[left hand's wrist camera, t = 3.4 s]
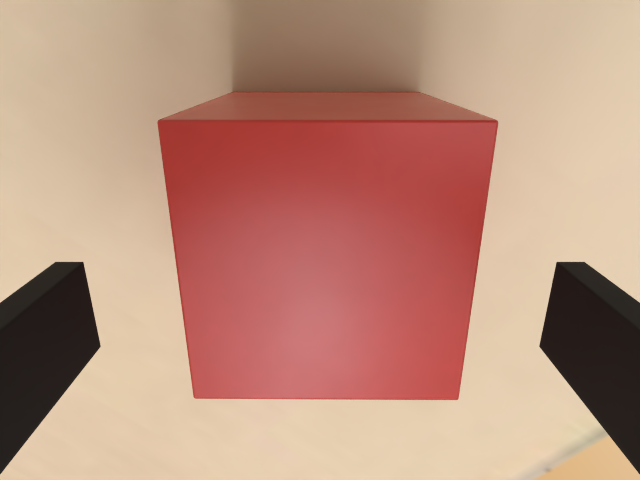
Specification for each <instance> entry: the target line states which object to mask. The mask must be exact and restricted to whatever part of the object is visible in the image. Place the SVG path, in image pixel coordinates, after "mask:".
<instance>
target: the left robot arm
mask: <svg viewBox="0 0 640 480" xmlns="http://www.w3.org/2000/svg"><path fill="white" fill-rule="evenodd" d="M100 347H101V346H100V341H99V336H98V332H97V327H96V322H95V317H94V312H93V307H92V302H91V297H90V293H89V288H88V283H87V278H86V273H85V268H84V263H83V262H55V263H54V264H52V265H51V266H50V267H48V268H47V269H46V270H44V271H43V272H41V273H40V274H39V275H37V276H36V277H35V278H33V279H32V280H31V281H29V282H28V283H27V284H25V285H24V286H22V287H21V288H20V289H18V290H17V291H16V292H14V293H13V294H12V295H10V296H9V297H8V298H6V299H5V300H3V301H2V302H1V303H0V474H1V473H2V471H3V470H4V469H5V468H6V466H7V465H8V464H9V462H10V461H11V460H12V459H13V457H14V456H15V455H16V454H17V452H18V451H19V450H20V448H21V447H22V446H23V445H24V443H25V442H26V441H27V440H28V438H29V437H30V436H31V434H32V433H33V432H34V431H35V429H36V428H37V427H38V426H39V424H40V423H41V422H42V420H43V419H44V418H45V417H46V415H47V414H48V413H49V412H50V410H51V409H52V408H53V406H54V405H55V404H56V403H57V401H58V400H59V399H60V398H61V396H62V395H63V394H64V392H65V391H66V390H67V389H68V387H69V386H70V385H71V384H72V382H73V381H74V380H75V378H76V377H77V376H78V375H79V373H80V372H81V371H82V370H83V368H84V367H85V366H86V364H87V363H88V362H89V361H90V359H91V358H92V357H93V356H94V354H95V353H96V352H97V350H98V349H99V348H100ZM539 347H540V348H541V349H542V350H543V352H544V353H545V354H546V356H547V357H548V358H549V359H550V361H551V362H552V363H553V364H554V366H555V367H556V368H557V370H558V371H559V372H560V373H561V375H562V376H563V377H564V378H565V380H566V381H567V382H568V384H569V385H570V386H571V387H572V389H573V390H574V391H575V392H576V394H577V395H578V396H579V398H580V399H581V400H582V401H583V403H584V404H585V405H586V406H587V408H588V409H589V410H590V412H591V413H592V414H593V415H594V417H595V418H596V419H597V420H598V422H599V423H600V424H601V426H602V427H603V428H604V429H605V431H606V432H607V433H608V434H609V436H610V437H611V438H612V440H613V441H614V442H615V443H616V445H617V446H618V447H619V448H620V450H621V451H622V452H623V454H624V455H625V456H626V457H627V459H628V460H629V461H630V462H631V464H632V465H633V466H634V468H635V469H636V470H637V471H638V473H639V474H640V303H639V302H638V301H637V300H635V299H634V298H632V297H631V296H630V295H628V294H627V293H626V292H624V291H623V290H622V289H620V288H619V287H618V286H616V285H615V284H613V283H612V282H611V281H609V280H608V279H607V278H605V277H604V276H603V275H601V274H600V273H599V272H597V271H596V270H594V269H593V268H592V267H590V266H589V265H588V264H586V263H585V262H557V263H556V268H555V273H554V278H553V283H552V288H551V293H550V297H549V302H548V307H547V312H546V317H545V322H544V327H543V332H542V336H541V341H540V346H539Z"/></svg>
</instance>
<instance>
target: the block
mask: <svg viewBox="0 0 640 480" xmlns="http://www.w3.org/2000/svg"><path fill="white" fill-rule="evenodd" d="M497 128H498V121H497V120H495V119H492V118H489V117H486V116H484V115H481V114H478V113H475V112H473V111H470V110H467V109H464V108H462V107H459V106H456V105H453V104H450V103H448V102H445V101H442V100H439V99H437V98H434V97H431V96H428V95H425V94H423V93H420V92H232V93H229V94H226V95H224V96H221V97H219V98H216V99H213V100H211V101H208V102H205V103H203V104H200V105H197V106H195V107H192V108H189V109H187V110H184V111H181V112H179V113H176V114H173V115H171V116H168V117H166V118H163V119H160V120H158V130H159V137H160V145H161V153H162V160H163V168H164V175H165V183H166V191H167V198H168V206H169V213H170V221H171V228H172V236H173V244H174V251H175V259H176V266H177V274H178V282H179V289H180V297H181V304H182V312H183V319H184V327H185V335H186V342H187V350H188V357H189V365H190V373H191V380H192V388H193V395H194V398H196V399H381V400H458V398H459V391H460V384H461V377H462V370H463V363H464V356H465V349H466V342H467V335H468V329H469V322H470V315H471V308H472V301H473V294H474V287H475V280H476V273H477V266H478V259H479V252H480V245H481V238H482V232H483V225H484V218H485V211H486V204H487V197H488V190H489V183H490V176H491V169H492V162H493V155H494V148H495V142H496V135H497Z"/></svg>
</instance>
